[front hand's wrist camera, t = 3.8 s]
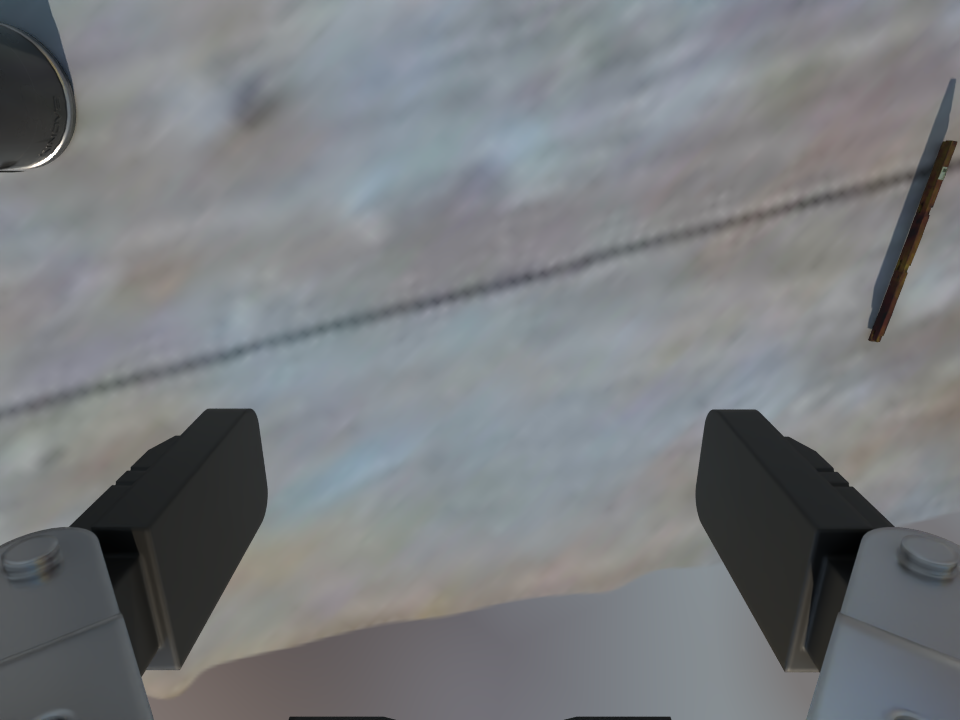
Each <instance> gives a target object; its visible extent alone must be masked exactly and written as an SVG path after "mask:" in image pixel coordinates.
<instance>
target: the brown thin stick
mask: <svg viewBox="0 0 960 720" xmlns="http://www.w3.org/2000/svg"><path fill="white" fill-rule="evenodd" d="M956 144H957V142H956V141H945V142H943V143H942V145H941V147H940V150H939V153H938V156H937V158H936V161H935V163H934V166H933V169H932V172H931V174H930V177H929V179H928V182H927V185H926V188H925V190H924V192H923V195H922V198H921V201H920V204H919V206H918V209H917V212H916V215H915V217H914V220H913V223H912V225H911V228H910V231H909V234H908V237H907V239H906V242H905V244H904V247H903V249H902V252H901V255H900V257H899V260H898V262H897V265H896V268H895V270H894V273H893V276H892V278H891V281H890V284H889V287H888V289H887V292H886V294H885V297H884V300H883V303H882V306H881V308H880V311H879V313H878V316H877V318H876V321H875V323H874V326H873V329H872V331H871V334H870V337H869V339H868V340H869V341H874V342H880V340H881V338H882V336H884V334H885V331H886V328H887V326H888V323H889V321H890V318H891V316H892V313H893V310H894V308H895V305H896V302H897V299H898V297H899V295H900V292H901V289H902V287H903V284H904V281H905V278H906V276H907V270H908V267H909V266H911V263H912V260H913V258H914V256H915V253H916V250H917V248H918V245H919V243H920V240H921V238H922V235H923V232H924V229H925V227H926V224H927V222H928V219H929V212H930V210H931V208H932V207H933V205H934V203H935V200H936V197H937V195H938V192H939V189H940V186H941V184H942V181H943V179H944V177H945V175H946V172H947V169H948V165H949V163H950V160H951V157H952V155H953V153H954V150H955V147H956Z"/></svg>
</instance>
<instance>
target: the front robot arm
mask: <svg viewBox="0 0 960 720" xmlns="http://www.w3.org/2000/svg"><path fill="white" fill-rule="evenodd" d="M75 123H76V105H75V99H74V94H73V91H72V88H71V85H70V82H69V80H68V78H67V76H66V74H65V72H64V70H63V68H62V67H61V65H60V64H59V62H58V61H57V60H56V58H55V57H54V56H53V55H52V53H51V52H50V51H49V50H48V49H47V48H46V47H45V46H44V45H43V44H42V43H40V42H39V41H38V40H37V39H35V38H34V37H32V36H31V35H29V34H28V33H26V32H24V31H22V30H20V29H18V28H16V27H14V26H11V25H8V24H4V23H0V170H2V169H12V170H20V169H32V168H37V167H41V166H44V165H46V164H48V163H50V162H52V161H53V160H55V159H56V158H57V157H59V156H60V155H61V154H62V153H63V151H64V150H65V149H66V148H67V146H68V144H69V143H70V140H71V138H72V136H73V133H74V129H75ZM0 172H22V171H0ZM267 498H268V489H267V480H266V473H265V466H264V458H263V451H262V444H261V437H260V429H259V423H258V418H257V415H256V413H255V412H254V410H252V409H207V410H205V411H204V412H203V413H202V414H201V415H200V416H199V417H198V418H197V419H196V420H195V421H194V422H193V423H192V424H191V425H190V426H189V427H188V428H187V429H186V430H185V431H184V432H183V433H182V434H181V435H180V436H174V437H172V438H170V439H168V440H166V441H165V442H163V443H161V444H159V445H157V446H155V447H153V448H152V449H150V450H148V451H147V452H146V453H145V454H144V455H143V456H142V457H141V458H140V459H139V460H138V461H137V462H136V463H135V464H134V465H133V466H132V467H131V470H130V471H126V472H125V473H124V474H123V475H122V476H121V477H120V478H119V479H118V480H117V481H116V485H112V486H111V487H110V488H109V489H108V490H107V491H106V492H105V493H104V494H103V495H101V496H100V497H99V498H98V499H97V500H96V501H95V502H94V503H93V504H92V505H91V506H90V507H89V508H88V509H87V510H86V511H85V512H84V513H83V514H82V515H81V516H80V517H79V518H78V519H77V520H76V521H75V522H74V523H72V524H71V525H70V526H69V527H60V528H51V529H46V530H41V531H37V532H34V533H30V534H27V535H24V536H21V537H18V538H16V539H14V540H11V541H9V542H7V543H5V544H3V545H1V546H0V720H154V718H153V715H152V712H151V708H150V705H149V702H148V698H147V695H146V692H145V688H144V685H143V682H142V678H141V677H142V675H143V674H144V672H145V670H180V669H181V667H182V665H183V664H184V662H185V660H186V658H187V656H188V655H189V653H190V651H191V649H192V647H193V646H194V644H195V642H196V640H197V638H198V637H199V635H200V633H201V631H202V629H203V628H204V626H205V624H206V622H207V620H208V619H209V617H210V615H211V613H212V611H213V610H214V608H215V606H216V604H217V602H218V601H219V599H220V597H221V595H222V593H223V592H224V590H225V588H226V586H227V584H228V583H229V581H230V579H231V577H232V575H233V574H234V572H235V570H236V568H237V566H238V565H239V563H240V561H241V559H242V557H243V556H244V554H245V552H246V550H247V548H248V547H249V545H250V543H251V541H252V539H253V538H254V536H255V534H256V532H257V530H258V529H259V527H260V525H261V523H262V521H263V519H264V516H265V512H266V507H267ZM696 506H697V512H698V516H699V519H700V522H701V524H702V526H703V527H704V529H705V531H706V533H707V534H708V536H709V538H710V540H711V542H712V543H713V545H714V547H715V549H716V550H717V552H718V554H719V556H720V558H721V559H722V561H723V563H724V565H725V566H726V568H727V570H728V572H729V574H730V575H731V577H732V579H733V581H734V582H735V584H736V586H737V588H738V589H739V591H740V593H741V595H742V597H743V598H744V600H745V602H746V604H747V605H748V607H749V609H750V611H751V613H752V614H753V616H754V618H755V620H756V621H757V623H758V625H759V627H760V629H761V630H762V632H763V634H764V636H765V638H766V639H767V641H768V643H769V645H770V646H771V648H772V650H773V652H774V653H775V655H776V657H777V659H778V661H779V662H780V664H781V666H782V668H783V670H784V671H785V672H820V675H819V678H818V682H817V685H816V688H815V692H814V695H813V698H812V702H811V705H810V708H809V712H808V715H807V719H806V720H960V546H959V545H957V544H955V543H953V542H951V541H949V540H946V539H944V538H942V537H939V536H936V535H933V534H930V533H926V532H923V531H919V530H914V529H909V528H900V527H894V526H893V525H892V524H891V523H890V522H889V521H888V520H887V519H886V518H885V517H884V516H883V515H882V514H881V513H880V512H879V511H878V510H877V509H876V508H874V507H873V506H872V505H871V504H870V503H869V502H868V501H867V500H866V499H865V498H864V497H863V496H862V495H861V494H860V493H859V492H858V491H857V490H856V489H855V488H854V487H849V483H848V482H847V481H846V480H845V479H844V478H843V477H842V476H841V475H840V474H839V473H838V472H834V468H833V467H832V466H831V465H830V464H829V463H827V462H826V461H825V460H824V459H823V458H822V457H821V456H820V455H819V454H818V453H817V452H816V451H814V450H812V449H810V448H809V447H807V446H805V445H803V444H801V443H799V442H797V441H796V440H794V439H792V438H790V437H784V436H783V435H782V434H781V433H780V432H779V431H778V430H777V429H776V428H775V427H774V426H773V425H772V424H771V423H770V422H769V421H768V420H767V419H766V418H765V417H764V416H763V415H762V414H761V413H760V412H759V411H757V410H711V411H710V412H709V413H708V415H707V417H706V421H705V426H704V433H703V440H702V447H701V454H700V462H699V469H698V476H697V483H696ZM289 720H394V719H390V718H386V717H289ZM566 720H671V717H574V718H570V719H566Z"/></svg>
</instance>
